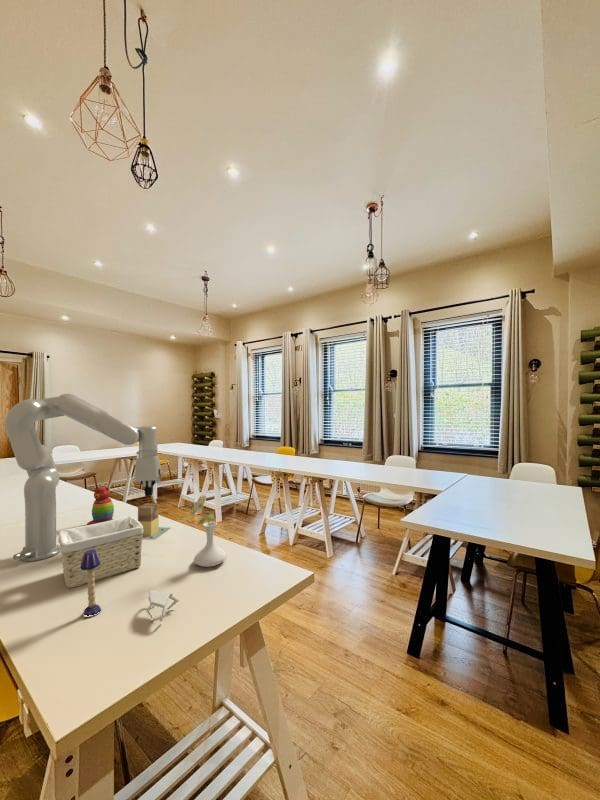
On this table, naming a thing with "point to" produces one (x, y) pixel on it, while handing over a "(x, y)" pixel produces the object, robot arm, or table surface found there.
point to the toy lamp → (91, 580)
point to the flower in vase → (208, 540)
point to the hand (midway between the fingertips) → (148, 495)
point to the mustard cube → (150, 527)
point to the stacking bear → (102, 506)
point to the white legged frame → (160, 601)
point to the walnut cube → (148, 512)
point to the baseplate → (156, 534)
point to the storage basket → (101, 548)
